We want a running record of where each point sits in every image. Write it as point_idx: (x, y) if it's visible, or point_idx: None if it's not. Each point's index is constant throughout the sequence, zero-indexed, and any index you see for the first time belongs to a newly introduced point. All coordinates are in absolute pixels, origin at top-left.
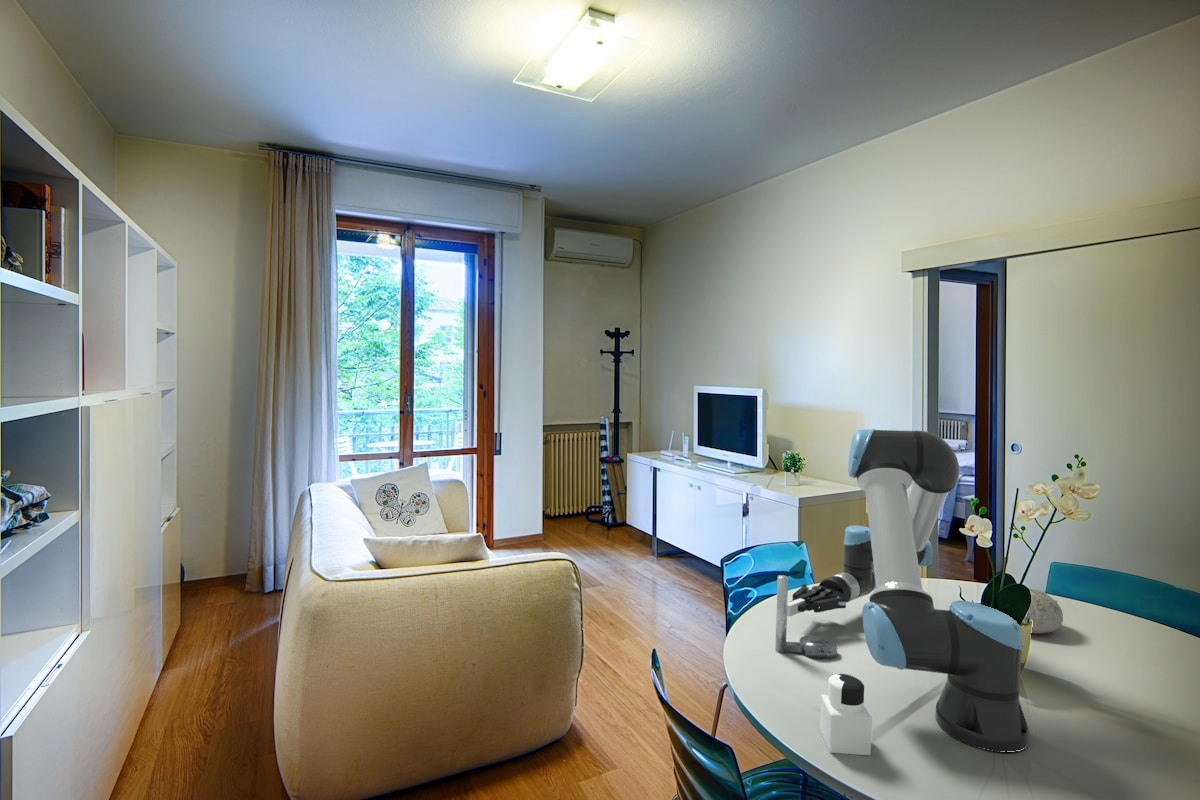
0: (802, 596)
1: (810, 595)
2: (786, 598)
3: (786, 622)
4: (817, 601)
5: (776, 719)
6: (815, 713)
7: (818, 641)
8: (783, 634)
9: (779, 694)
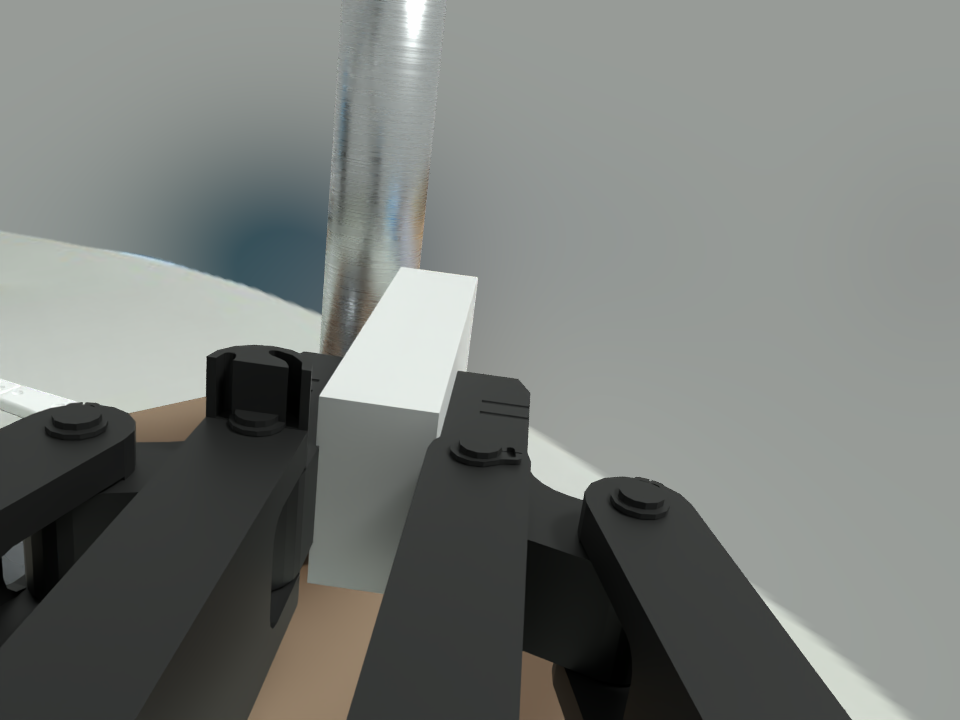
0: (464, 502)
1: (355, 698)
2: (341, 29)
3: (324, 277)
4: (57, 452)
5: (159, 284)
6: (12, 320)
7: (16, 545)
8: None
9: (195, 348)
